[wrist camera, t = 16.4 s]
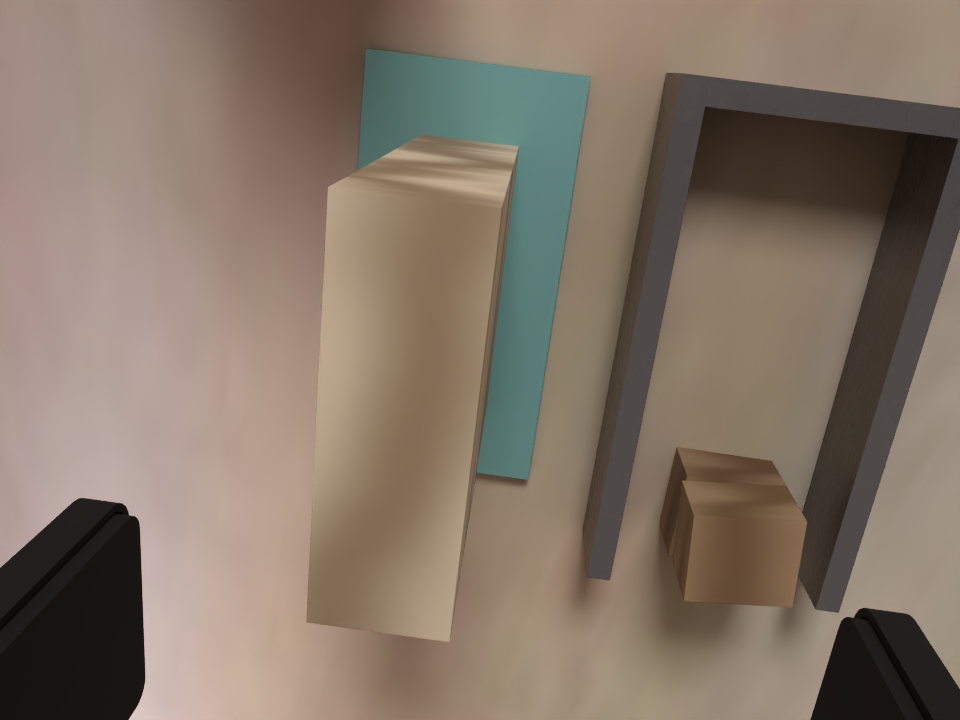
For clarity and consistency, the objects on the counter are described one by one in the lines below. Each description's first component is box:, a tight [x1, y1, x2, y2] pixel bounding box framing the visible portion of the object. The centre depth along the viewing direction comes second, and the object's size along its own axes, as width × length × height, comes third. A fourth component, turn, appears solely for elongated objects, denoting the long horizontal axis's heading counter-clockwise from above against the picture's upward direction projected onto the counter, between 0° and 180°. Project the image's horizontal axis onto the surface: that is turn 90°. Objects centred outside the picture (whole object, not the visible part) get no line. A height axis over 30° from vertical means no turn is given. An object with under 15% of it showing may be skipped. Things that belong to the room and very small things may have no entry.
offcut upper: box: [673, 481, 807, 607], centre depth 35 cm, size 4×4×3 cm
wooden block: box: [306, 135, 519, 642], centre depth 29 cm, size 4×12×16 cm, turn 174°
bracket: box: [583, 73, 960, 613], centre depth 35 cm, size 11×21×4 cm, turn 173°
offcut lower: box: [660, 447, 786, 556], centre depth 38 cm, size 4×4×3 cm
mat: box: [357, 48, 590, 480], centre depth 36 cm, size 9×18×1 cm, turn 173°
